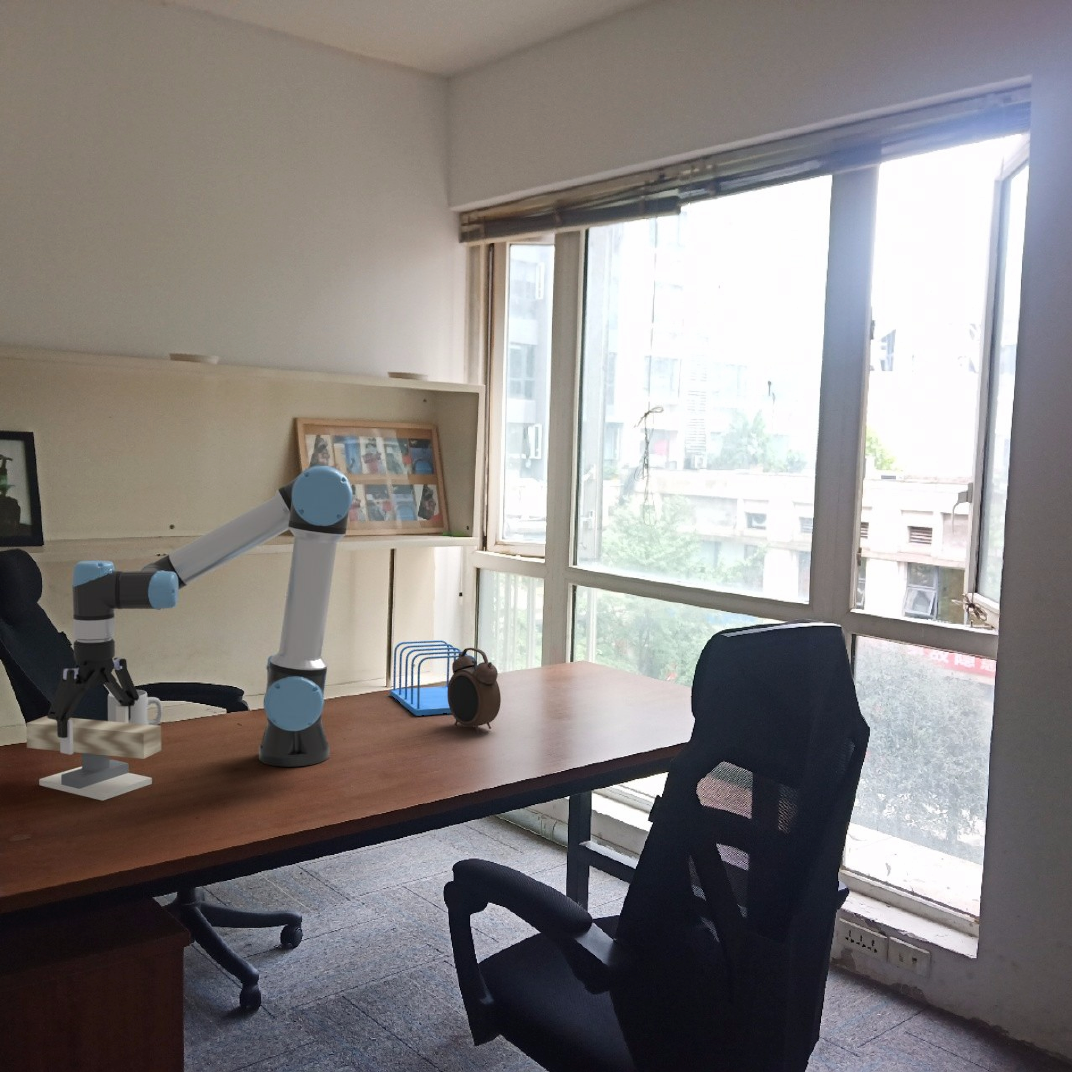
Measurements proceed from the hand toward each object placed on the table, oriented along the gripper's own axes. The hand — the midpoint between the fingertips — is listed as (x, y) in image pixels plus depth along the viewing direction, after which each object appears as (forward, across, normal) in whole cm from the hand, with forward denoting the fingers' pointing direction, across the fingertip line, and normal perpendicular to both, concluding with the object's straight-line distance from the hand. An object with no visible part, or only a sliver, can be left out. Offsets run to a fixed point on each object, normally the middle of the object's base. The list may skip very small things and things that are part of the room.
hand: (95, 745), depth 210 cm
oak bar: (+1, 0, 0) cm, 1 cm away
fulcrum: (+8, 0, 0) cm, 8 cm away
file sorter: (+8, -93, +20) cm, 95 cm away
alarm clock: (+8, -76, +42) cm, 87 cm away
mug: (+8, -27, -19) cm, 34 cm away
